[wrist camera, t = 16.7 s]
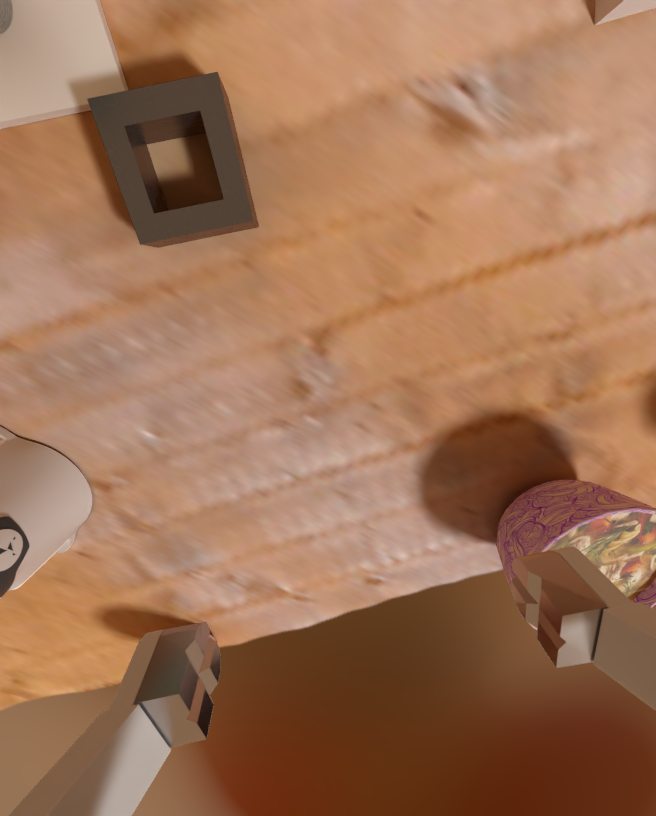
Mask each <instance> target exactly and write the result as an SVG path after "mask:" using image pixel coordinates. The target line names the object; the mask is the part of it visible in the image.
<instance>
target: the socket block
mask: <svg viewBox="0 0 656 816" xmlns="http://www.w3.org/2000/svg"><path fill="white" fill-rule="evenodd" d="M87 100H88V103H89V106H90V108H91V111H92V114H93V117H94V119H95V122H96V125H97V128H98V130H99V133H100V136H101V138H102V141H103V144H104V147H105V149H106V152H107V155H108V158H109V160H110V163H111V166H112V169H113V171H114V174H115V177H116V179H117V182H118V185H119V188H120V190H121V193H122V196H123V199H124V201H125V204H126V207H127V210H128V212H129V215H130V218H131V220H132V223H133V226H134V229H135V231H136V234H137V237H138V240H139V242H140V244H141V245H147V246H153V247H158V248H159V247H163V246H168V245H173V244H178V243H183V242H188V241H193V240H198V239H203V238H207V237H212V236H217V235H222V234H227V233H232V232H237V231H242V230H246V229H251V228H256V227H259V225H258V221H257V217H256V213H255V208H254V204H253V200H252V196H251V192H250V187H249V183H248V179H247V175H246V170H245V166H244V162H243V158H242V154H241V149H240V145H239V141H238V137H237V133H236V128H235V124H234V120H233V116H232V111H231V107H230V103H229V99H228V96H227V94H226V91H225V89H224V86H223V84H222V82H221V79H220V77H219V74H218V72H214V73H210V74H205V75H200V76H195V77H190V78H185V79H180V80H176V81H171V82H166V83H161V84H156V85H151V86H146V87H142V88H137V89H132V90H127V91H122V92H117V93H112V94H108V95H103V96H98V97H93V98H88V99H87ZM204 132H206V134H207V138H208V142H209V146H210V149H211V153H212V157H213V161H214V164H215V168H216V172H217V176H218V179H219V183H220V187H221V191H222V194H223V198H224V199H223V200H218V201H213V202H208V203H203V204H198V205H194V206H189V207H184V208H179V209H174V210H169V211H168V209H167V206H166V203H165V200H164V197H163V194H162V191H161V188H160V185H159V182H158V179H157V176H156V173H155V170H154V166H153V163H152V160H151V157H150V154H149V151H148V148H147V145H146V144H151V143H156V142H160V141H165V140H170V139H175V138H180V137H185V136H190V135H195V134H199V133H204Z"/></svg>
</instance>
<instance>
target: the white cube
mask: <svg viewBox="0 0 656 816" xmlns="http://www.w3.org/2000/svg"><path fill="white" fill-rule="evenodd" d="M653 8H656V0H596V1H595V24H594V25H598V24H601V23H605V22H608V21H611V20H615V19H618V18H622V17H625V16H629V15H632V14H636V13H639V12H643V11H646V10H650V9H653Z"/></svg>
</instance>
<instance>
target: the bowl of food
mask: <svg viewBox="0 0 656 816" xmlns="http://www.w3.org/2000/svg"><path fill="white" fill-rule="evenodd" d="M496 546H497V549H498V552H499V556H500V559H501V562H502V565H503V569H504V571H505V574H506V577H507V580H508V582H509V585H510V587H511V581H512V579H513V578H514V577H515V576H516V574H515V573H514V571H513V570H512V561H513V560H514V558H517V557H522V556H526V555H531V554H535V553H540V552H544V551H549V550H551V551H552V550H556V549H561V548H566V547H571V546H573V547H575V548H577V549H579V550H580V551H581V552H582V553H583V554H584V555H585V556H586V557H587V558H588V559H589V560H590V561H591V562H592V563H593V564H594V565H595V566H596V567H597V568H598V569H599V570H600V571H601V572H602V573H603V574H604V575H605V576H606V577H607V578H608V579H609V580H610V581H611V582H612V583H613V584H614V585H615V586H616V587H617V588H618V589H619V590H620V591H621V592H622V593H623V594H624V595H625V596H626V597H627V598H628V599H629V600H630V601H631V602H632V603H637V602H641V603H643V604H645V605H647V606H649V607H651V608H652V607H653V606H654V605H656V508H653V507H651V506H649V505H647V504H644V503H642V502H639V501H637V500H634V499H632V498H630V497H627V496H625V495H623V494H620V493H618V492H615V491H613V490H610V489H608V488H605V487H603V486H600V485H597V484H594V483H591V482H585V481H579V480H557V481H549V482H545V483H543V484H540V485H537V486H535V487H532V488H530V489H529V490H527V491H526V492H524V493H523V494H521V495H520V496H518V497H517V498H516V499H515V500H514V501H513V502H512V503H511V504H510V505H509V507H508V508H507V509H506V510H505V512H504V514H503V516H502V518H501V520H500V522H499V526H498V534H497V543H496ZM521 616H522V614H521ZM522 617H523V616H522ZM529 624H530V623H529ZM530 625H531V624H530ZM531 626H532V627H533V628H534V629H537V628H536V627H534V626H533V625H531Z"/></svg>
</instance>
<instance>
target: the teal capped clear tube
mask: <svg viewBox="0 0 656 816" xmlns="http://www.w3.org/2000/svg"><path fill="white" fill-rule="evenodd" d="M12 17H13V7H12V2H11V0H0V34H2V33H4V32H5V31H6V30H7V29H8V28H9V26H10V24H11V22H12Z"/></svg>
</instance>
